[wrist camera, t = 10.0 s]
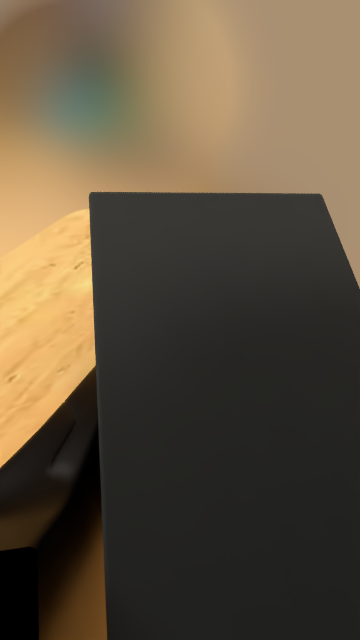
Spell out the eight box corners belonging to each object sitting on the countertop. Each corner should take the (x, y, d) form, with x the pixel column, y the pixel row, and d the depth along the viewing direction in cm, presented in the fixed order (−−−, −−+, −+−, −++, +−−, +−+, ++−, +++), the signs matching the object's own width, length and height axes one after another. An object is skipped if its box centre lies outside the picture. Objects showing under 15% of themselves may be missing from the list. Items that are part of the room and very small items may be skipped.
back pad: (215, 415, 14) (486, 596, 3) (145, 429, 13) (110, 784, 2) (198, 323, 16) (322, 192, 4) (136, 330, 15) (87, 190, 4)
